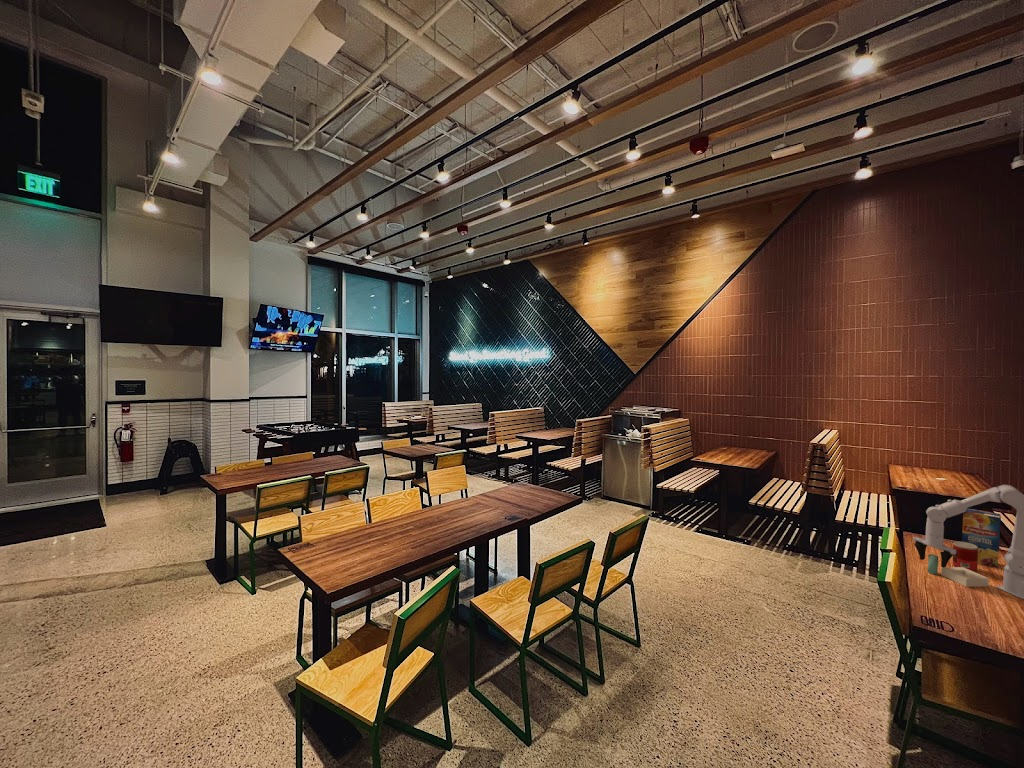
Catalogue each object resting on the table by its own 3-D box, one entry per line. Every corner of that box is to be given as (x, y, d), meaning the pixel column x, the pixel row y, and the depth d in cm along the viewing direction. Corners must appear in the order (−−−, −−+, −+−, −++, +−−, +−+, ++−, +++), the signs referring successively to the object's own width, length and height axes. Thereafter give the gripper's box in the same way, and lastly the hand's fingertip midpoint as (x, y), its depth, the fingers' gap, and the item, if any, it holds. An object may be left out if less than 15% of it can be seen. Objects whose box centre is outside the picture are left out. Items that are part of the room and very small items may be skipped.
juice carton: (960, 559, 206) (963, 511, 204) (960, 554, 211) (963, 507, 209) (997, 568, 197) (1001, 517, 196) (997, 563, 202) (1000, 514, 201)
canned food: (982, 571, 193) (983, 548, 192) (963, 571, 194) (964, 548, 193) (966, 563, 201) (966, 541, 200) (947, 563, 201) (948, 541, 201)
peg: (939, 574, 191) (940, 557, 190) (932, 574, 191) (933, 557, 190) (932, 571, 194) (933, 554, 194) (925, 571, 194) (926, 554, 194)
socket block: (988, 586, 181) (988, 578, 181) (965, 586, 181) (966, 578, 180) (962, 574, 191) (962, 567, 191) (941, 575, 191) (941, 567, 190)
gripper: (961, 539, 186) (959, 569, 187) (920, 526, 200) (918, 554, 200) (951, 541, 184) (949, 571, 184) (910, 528, 197) (909, 557, 198)
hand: (932, 563), depth 192 cm, fingers open, 7 cm apart
